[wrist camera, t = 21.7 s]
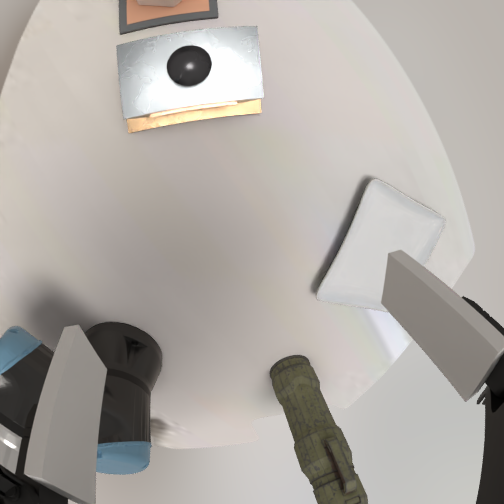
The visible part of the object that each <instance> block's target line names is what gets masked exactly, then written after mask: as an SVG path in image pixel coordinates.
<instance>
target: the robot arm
mask: <svg viewBox="0 0 504 504" xmlns="http://www.w3.org/2000/svg"><path fill="white" fill-rule="evenodd" d="M381 304H382V305H383V306H384V307H385V308H386V309H387V310H388V311H389V312H390V314H391V315H392V316H393V317H394V318H395V319H396V320H397V321H398V322H399V323H400V325H401V326H402V327H403V328H404V329H405V330H406V331H407V332H408V334H409V335H410V336H411V337H412V338H413V339H414V340H415V341H416V343H417V344H418V345H419V346H420V347H421V348H422V350H423V351H424V352H425V353H426V354H427V355H428V356H429V358H430V359H431V360H432V361H433V363H434V364H435V365H436V366H437V367H438V368H439V370H440V371H441V372H442V373H443V375H444V376H445V377H446V378H447V379H448V381H449V382H450V383H451V384H452V386H453V387H454V388H455V389H456V391H457V392H458V393H459V394H460V396H461V397H462V398H463V399H464V401H465V402H466V401H467V400H469V399H470V398H471V397H473V396H474V395H475V394H476V393H477V392H478V391H479V390H480V389H481V387H482V386H483V384H484V383H486V384H487V387H486V388H485V390H484V391H483V392H482V394H481V395H480V397H479V398H478V400H477V404H480V402H481V401H482V400H483V398H484V397H485V399H484V401H483V403H482V404H483V405H485V442H484V454H483V464H482V472H481V479H480V485H479V491H478V496H477V501H476V504H504V328H503V327H502V326H501V325H500V324H499V323H498V322H497V321H495V320H494V319H493V318H492V317H490V316H489V314H488V313H487V312H486V311H483V309H482V308H481V307H480V306H479V305H478V304H476V303H475V302H474V301H472V300H470V299H468V298H466V297H464V296H463V297H460V296H459V295H458V294H457V293H455V292H454V291H453V290H452V289H451V288H450V287H448V286H447V285H446V284H445V283H444V282H442V281H441V280H440V279H439V278H437V277H436V276H435V275H434V274H432V273H431V272H430V271H429V270H427V269H426V268H425V267H424V266H422V265H421V264H420V263H418V262H417V261H416V260H414V259H413V258H412V257H410V256H409V255H408V254H407V253H405V252H404V251H402V250H397V251H394V252H391V253H388V258H387V266H386V274H385V281H384V287H383V294H382V299H381ZM42 343H43V342H42V341H41V340H37V339H36V338H34V337H33V336H32V335H30V334H29V333H28V332H27V331H25V330H24V329H23V328H21V327H18V326H13V327H11V328H9V329H8V330H7V331H6V332H5V333H4V334H3V336H2V337H1V338H0V504H68V499H70V500H72V501H74V502H76V503H78V504H96V495H95V494H96V472H100V473H106V474H133V473H138V472H141V471H143V470H145V469H146V468H147V467H148V465H149V462H150V448H151V439H150V396H151V391H152V389H153V387H154V385H155V383H156V380H157V378H158V376H159V374H160V372H161V367H162V353H161V350H160V348H159V346H158V344H157V343H156V342H155V341H154V340H153V339H152V338H151V337H150V336H149V335H148V334H146V333H145V332H143V331H141V330H140V329H138V328H135V327H133V326H130V325H127V324H122V323H113V322H110V323H102V324H98V325H96V326H94V327H92V328H91V329H89V330H88V331H87V333H86V334H84V332H83V331H82V329H81V327H80V326H79V325H73V326H68V327H64V330H63V332H62V335H61V337H60V340H59V342H58V345H57V348H56V350H55V353H54V352H53V351H51V350H50V349H49V348H48V347H46V346H45V345H44V344H42Z"/></svg>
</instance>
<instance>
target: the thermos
mask: <svg viewBox="0 0 504 504" xmlns="http://www.w3.org/2000/svg"><path fill="white" fill-rule="evenodd" d="M270 376H271V378H272V385H273V388H274V391H275V394H276V397H277V399H278V401H279V403H280V404H281V405H282V406H283V409H284V412H285V415H286V418H287V421H288V424H289V427H290V430H291V432H292V435H293V438H294V441H295V444H294V449H295V452H296V455H297V458H298V461H299V464H300V467H301V470H302V472H303V473H304V474H305V475H306V476H307V478H308V479H309V481H310V484H311V485H312V486H313V489H314V491H313V492H314V495H315V498H316V500H317V503H318V504H368V499H367V495H366V492H365V490H364V488H363V486H362V483H361V481H360V479H359V477H358V474H356V473H355V471H354V466H353V463H352V453H351V450H350V448H349V446H348V443H347V441H346V439H345V437H344V435H343V432H342V430H341V429H340V428H339V427H338V426H337V425H336V424H335V422H334V419H333V417H332V415H331V413H330V411H329V408H328V406H327V404H326V402H325V400H324V397H323V395H322V393H321V391H320V382H319V380H318V378H317V376H316V373H315V371H314V369H313V367H311V365H310V362H309V360H308V359H307V358H306V357H305V356H301V355H293V356H289V357H286V358H284V359H281V360H280V361H278V362H277V363H275V364H274V366H273V367H272V368H271V370H270Z"/></svg>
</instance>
